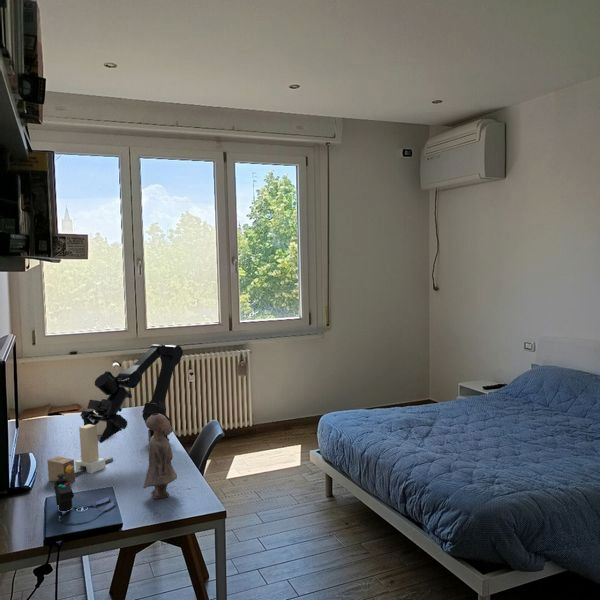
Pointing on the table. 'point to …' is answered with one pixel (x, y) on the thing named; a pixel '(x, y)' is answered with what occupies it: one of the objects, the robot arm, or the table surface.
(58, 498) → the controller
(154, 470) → the clay figurine
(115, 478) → the table surface
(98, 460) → the cream block on base
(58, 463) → the brown block with rod
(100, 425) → the teacup with lid
